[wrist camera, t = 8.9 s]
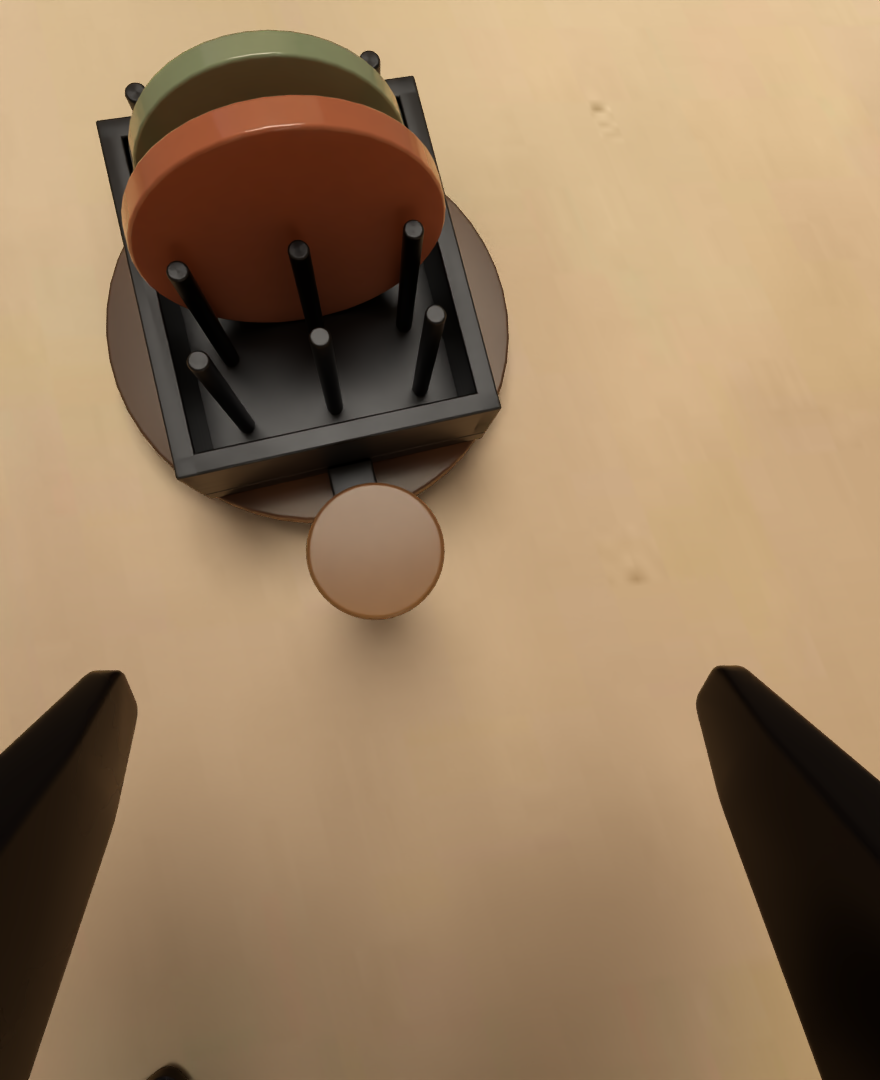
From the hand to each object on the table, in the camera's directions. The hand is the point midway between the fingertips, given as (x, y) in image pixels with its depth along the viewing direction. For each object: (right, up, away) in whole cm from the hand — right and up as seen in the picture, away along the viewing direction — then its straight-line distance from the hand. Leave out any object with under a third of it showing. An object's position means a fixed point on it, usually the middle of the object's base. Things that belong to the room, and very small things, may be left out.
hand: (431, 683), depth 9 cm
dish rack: (-3, +7, +10) cm, 13 cm away
